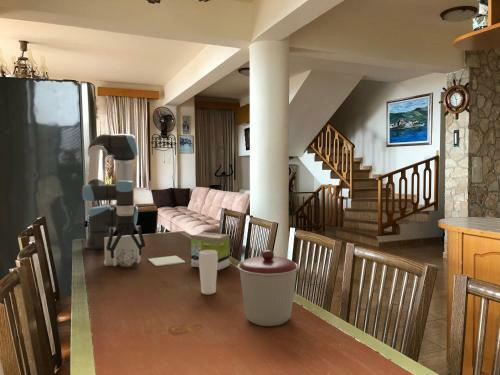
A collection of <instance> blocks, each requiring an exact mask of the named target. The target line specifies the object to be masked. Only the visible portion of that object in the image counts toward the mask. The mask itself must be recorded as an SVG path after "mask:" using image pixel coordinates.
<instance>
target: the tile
mask: <svg viewBox="0 0 500 375" xmlns="http://www.w3.org/2000/svg"><path fill="white" fill-rule="evenodd" d="M147 260H148V261H149V262H150V263H151V264H152V265H154V266H155V267H161V266H171V265H179V264H185V263H186V261H185V260H183V258H180V257H179V256H177V255H170V256H161V257H160V256H159V257H153V258H147Z"/></svg>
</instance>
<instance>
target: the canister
mask: <svg viewBox="0 0 500 375" xmlns="http://www.w3.org/2000/svg"><path fill="white" fill-rule="evenodd" d="M237 270H239V275H240V283H241V291H242V292H241V294H242V299H243V308H244V312H245V316H246V319H247V320H249V322H251V323H252V324H254V325H257V326H262V327H277V326H280V325H284V324H285V323H286V322H288V321H289V319H290V317H291V315H292V310H293V304H294V297H295V286H296V278H297V277H296V276H297V271H298V270H299V265H298V264H297V263H296V262H294V261H293V260H292V259H289V258H287V257H283V256H275V252H273V250H270V249H266V250H265V249H264V250H263V251H262V252H261V256H252V257H248V258H246V259H244V260H243V261H242V262H239V263H238V264H237Z"/></svg>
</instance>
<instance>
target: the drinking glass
mask: <svg viewBox="0 0 500 375" xmlns="http://www.w3.org/2000/svg"><path fill="white" fill-rule="evenodd" d="M217 264H218V256H217V251H215V250H203V251H200V252H199V267H198V268H199V278H200V292H201V293H202V294H203V295H212V294H215V293H216V291H217V278H218V275H217V274H218V271H217Z"/></svg>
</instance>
